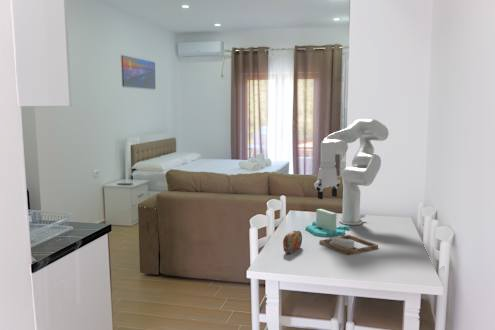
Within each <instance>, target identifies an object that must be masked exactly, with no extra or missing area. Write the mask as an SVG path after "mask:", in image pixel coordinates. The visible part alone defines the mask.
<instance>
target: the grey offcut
mask: <svg viewBox="0 0 495 330" xmlns="http://www.w3.org/2000/svg"><path fill="white" fill-rule="evenodd" d="M339 237H340V236H332V237H330V238H331V243H333V244H337V245H341V246H345V247H349V248H351V247H355V240H352V239H348V238H347V239H343V238H339Z"/></svg>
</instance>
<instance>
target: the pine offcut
mask: <svg viewBox="0 0 495 330" xmlns="http://www.w3.org/2000/svg"><path fill="white" fill-rule="evenodd" d="M329 244H331V245H334V246H336V247H339V248H341V249H344V250H347V251H350V250H353V247H354V246H353V247H351V248H349V247H345V246H341V245H337V244H333V243H331V241H330V242H329Z"/></svg>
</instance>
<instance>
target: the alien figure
mask: <svg viewBox="0 0 495 330" xmlns="http://www.w3.org/2000/svg"><path fill="white" fill-rule="evenodd" d="M349 230H350V225H343V226H342V225H340V226H336V231H329V230H327V229H324V228H321V227H318V226H316V220H315V221H312V225H311V224H310V225H309V224H308V225H307V226H305V231H307V232H308V233H310V234H312V235H313V236H317V237H326V238H327V237H339V236H345V234H346V231H349Z"/></svg>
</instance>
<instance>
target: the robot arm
mask: <svg viewBox="0 0 495 330" xmlns="http://www.w3.org/2000/svg"><path fill="white" fill-rule="evenodd" d="M388 138H389V129H388V127H387V126H386V125H385V124H383V123H382V122H380V121H378V120H377V119H374V118H373V119H372V118H359V119H356V120H355V121H354V122H352V123H351V124H350V125H348V126H347V127H346V128H343V129H341V130H338V131H335V132H333V133H330V134H329V135H327V136H326V137H325V138H324V139H323V140H322V141H321V142H320V165H319V168H318V172H317V179H316V182H314V183H313V186H314V188H315V190H316V191H317V199H319V200H323V198H324V194H323V193H324V191H323V190H324V189H325V188H331V196H332V197H336V198H337V196H338V189H339V186H340V184H341V181H342V209H341V210H342V215H341V218H339V220H338V222H339V223H340V224H343V225H345V226H358V225H362V224H363V220H361V219H364V218H366V214H361V213H360V212H361V211H360V209H361V208H360V207H361V205H360V204H361V189H360V187H359V186H363V187H369V186H371V185H372V183H374V180H375V179H376V176H377V175H378V173H379V171H380V169H381V167H382V166H381V165H382V159H381V157H380V155H378V154H375V153H374V152H375V147H374V146H373V144H372V141H376V142H377V141H378V142H383V141H384V142H385V141H386V140H387V139H388ZM358 139H359V147H358V149H357V151H356V152H355V154H354V156H353V157H352V160H351V165H352V166H347V167H345V168H344V169H342V171H341V179H342V180H341V179H339V178H338V174H337V167H336V164H337V162H336V155H344V154H346V152H348V149H349V145H348V144H351V143H354V142H356V141H357V140H358Z"/></svg>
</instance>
